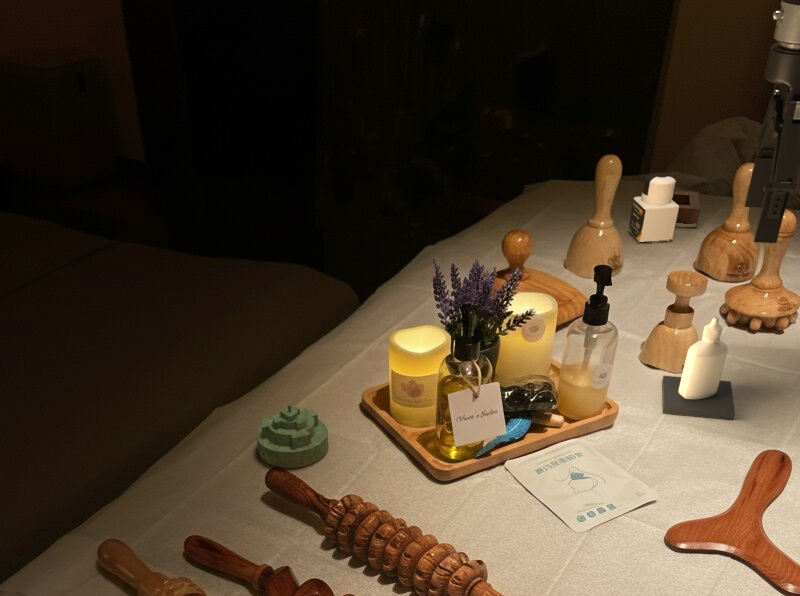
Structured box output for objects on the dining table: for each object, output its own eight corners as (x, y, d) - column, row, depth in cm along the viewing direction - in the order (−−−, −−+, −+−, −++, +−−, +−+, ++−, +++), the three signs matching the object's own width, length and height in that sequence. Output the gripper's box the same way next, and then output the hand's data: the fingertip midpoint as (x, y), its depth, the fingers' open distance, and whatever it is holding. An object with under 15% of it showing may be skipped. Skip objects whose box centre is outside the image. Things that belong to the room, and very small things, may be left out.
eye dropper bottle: (717, 402, 129) (738, 325, 121) (678, 399, 130) (696, 322, 122) (715, 388, 132) (735, 312, 124) (677, 385, 133) (694, 309, 125)
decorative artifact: (343, 447, 124) (297, 422, 130) (340, 403, 119) (293, 379, 125) (289, 476, 119) (244, 449, 124) (285, 432, 114) (238, 405, 120)
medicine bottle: (627, 231, 184) (637, 171, 176) (660, 229, 185) (671, 169, 177) (638, 243, 179) (649, 182, 171) (672, 241, 179) (685, 179, 171)
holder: (694, 211, 193) (698, 192, 190) (696, 228, 185) (700, 208, 182) (642, 208, 195) (646, 189, 192) (642, 225, 187) (646, 206, 184)
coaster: (729, 387, 134) (730, 381, 133) (733, 420, 127) (735, 414, 126) (662, 381, 136) (663, 375, 135) (662, 413, 129) (663, 407, 128)
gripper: (761, 23, 115) (724, 192, 129) (784, 66, 97) (738, 257, 111) (822, 23, 113) (778, 194, 127) (857, 66, 95) (801, 259, 110)
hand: (759, 223), depth 119 cm, fingers open, 13 cm apart
